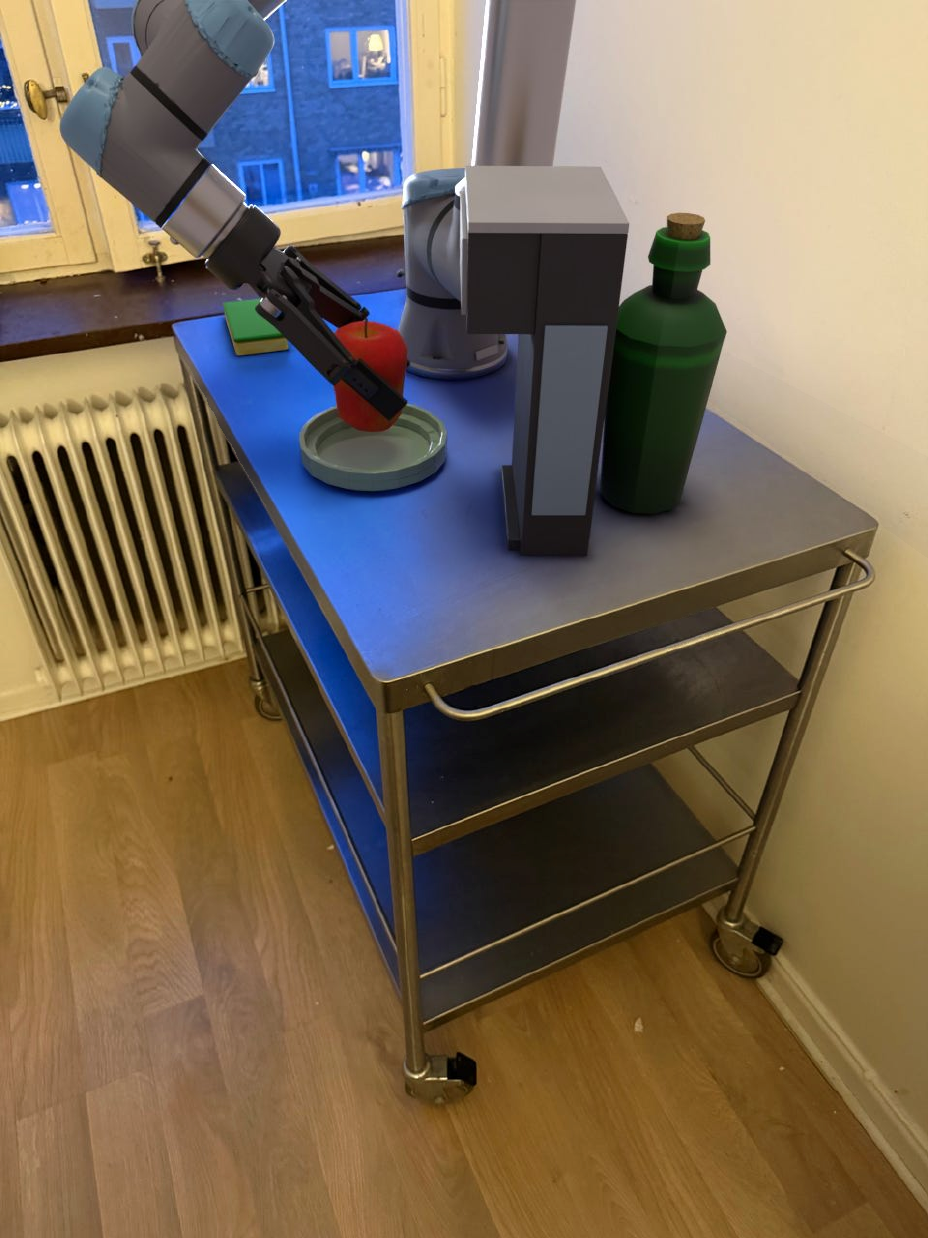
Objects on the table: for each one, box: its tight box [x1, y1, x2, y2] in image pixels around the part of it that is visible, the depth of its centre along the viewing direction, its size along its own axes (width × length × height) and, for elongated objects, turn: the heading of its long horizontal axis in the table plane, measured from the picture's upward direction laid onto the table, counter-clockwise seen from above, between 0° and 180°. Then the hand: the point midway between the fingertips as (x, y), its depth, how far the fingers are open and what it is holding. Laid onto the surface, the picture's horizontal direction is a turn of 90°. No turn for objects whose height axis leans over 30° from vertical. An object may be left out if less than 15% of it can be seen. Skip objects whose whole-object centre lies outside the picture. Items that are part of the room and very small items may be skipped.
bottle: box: [600, 212, 728, 515], centre depth 85 cm, size 11×11×28 cm
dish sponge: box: [222, 298, 289, 356], centre depth 124 cm, size 7×14×2 cm, turn 18°
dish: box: [298, 403, 448, 492], centre depth 98 cm, size 16×16×3 cm
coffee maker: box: [460, 165, 630, 557], centre depth 81 cm, size 12×16×31 cm
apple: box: [332, 317, 408, 432], centre depth 92 cm, size 9×8×12 cm
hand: (400, 390), depth 94 cm, fingers closed on apple, 9 cm apart
